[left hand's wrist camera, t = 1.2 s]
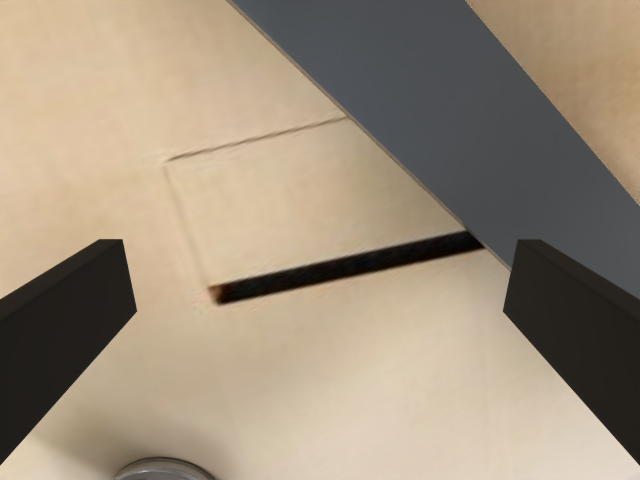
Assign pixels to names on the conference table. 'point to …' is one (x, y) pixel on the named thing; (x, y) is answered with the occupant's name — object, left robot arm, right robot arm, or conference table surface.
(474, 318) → the conference table surface
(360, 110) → the long grey beam
